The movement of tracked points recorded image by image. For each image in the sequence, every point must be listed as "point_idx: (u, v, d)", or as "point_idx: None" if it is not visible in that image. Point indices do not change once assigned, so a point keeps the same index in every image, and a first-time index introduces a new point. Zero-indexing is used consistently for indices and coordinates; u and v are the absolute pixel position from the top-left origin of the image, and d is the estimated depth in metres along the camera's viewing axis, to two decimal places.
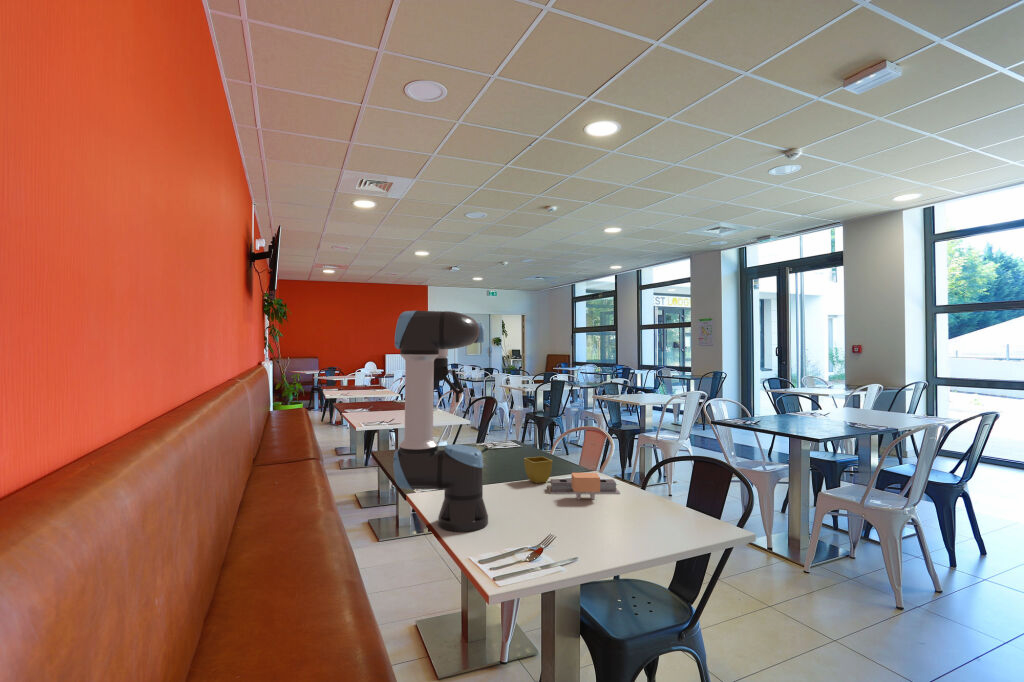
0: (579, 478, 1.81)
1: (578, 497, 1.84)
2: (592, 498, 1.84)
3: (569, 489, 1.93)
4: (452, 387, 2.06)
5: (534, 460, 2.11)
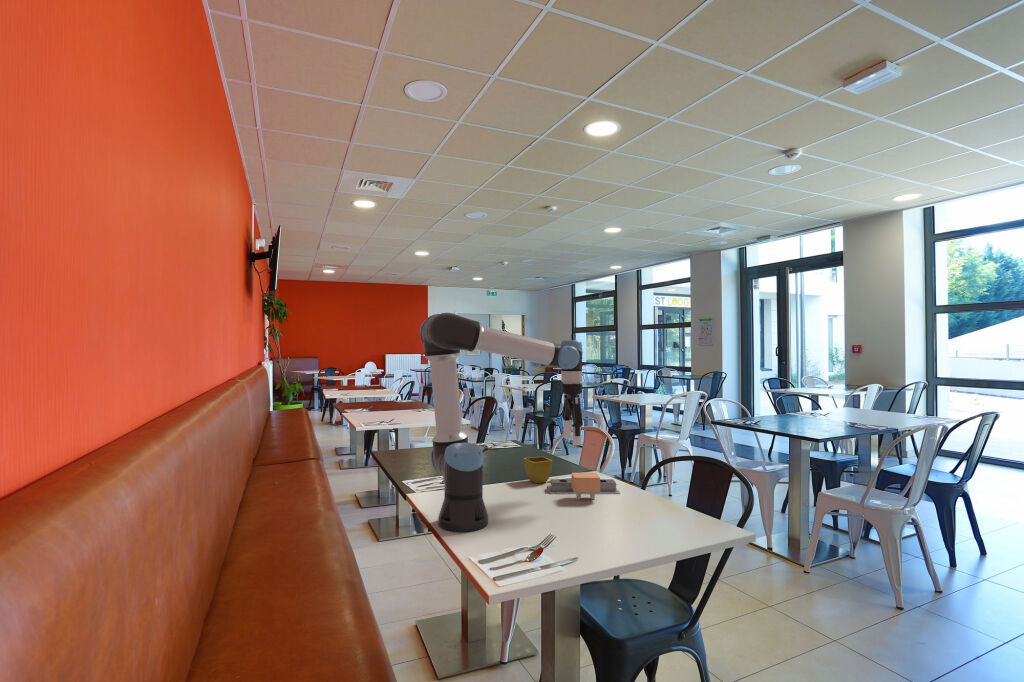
0: (579, 478, 1.81)
1: (578, 497, 1.84)
2: (592, 498, 1.84)
3: (569, 489, 1.93)
4: (572, 418, 1.81)
5: (534, 460, 2.11)
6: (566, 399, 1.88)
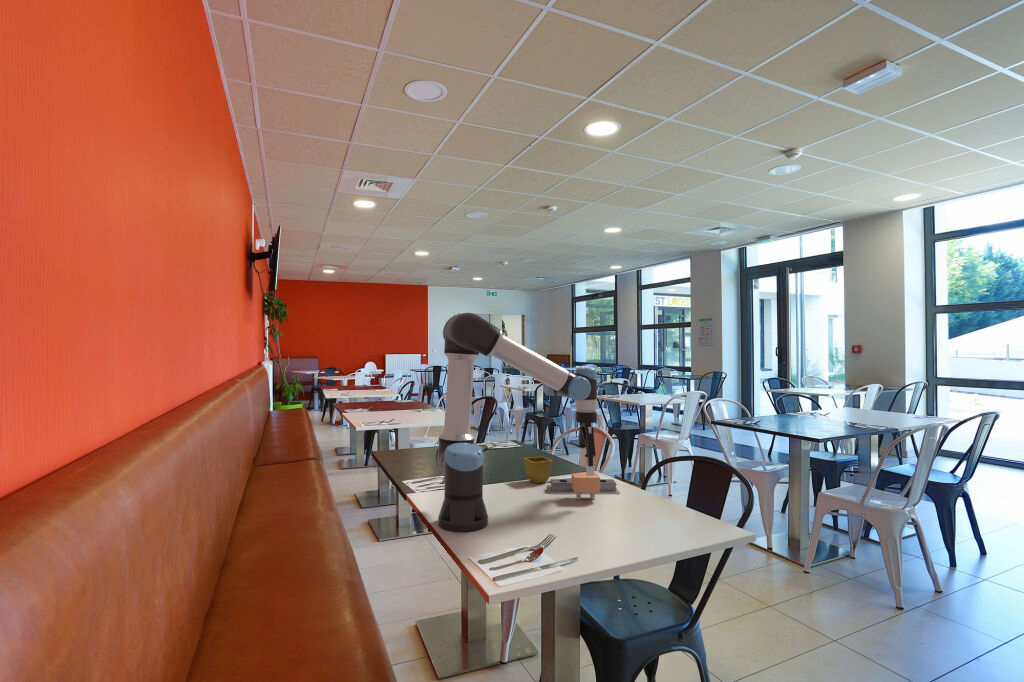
0: (579, 478, 1.81)
1: (578, 497, 1.84)
2: (592, 498, 1.84)
3: (569, 489, 1.93)
4: (586, 447, 1.79)
5: (534, 460, 2.11)
6: (581, 427, 1.86)
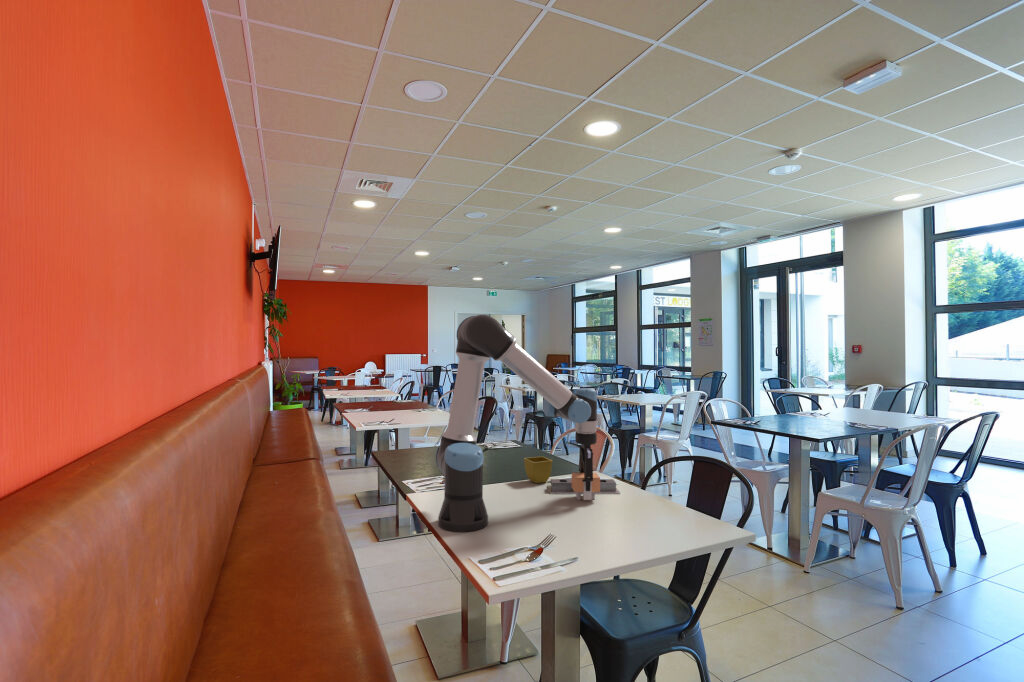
0: (579, 478, 1.81)
1: (578, 497, 1.84)
2: (592, 498, 1.84)
3: (569, 489, 1.93)
4: (584, 471, 1.81)
5: (534, 460, 2.11)
6: (580, 448, 1.86)
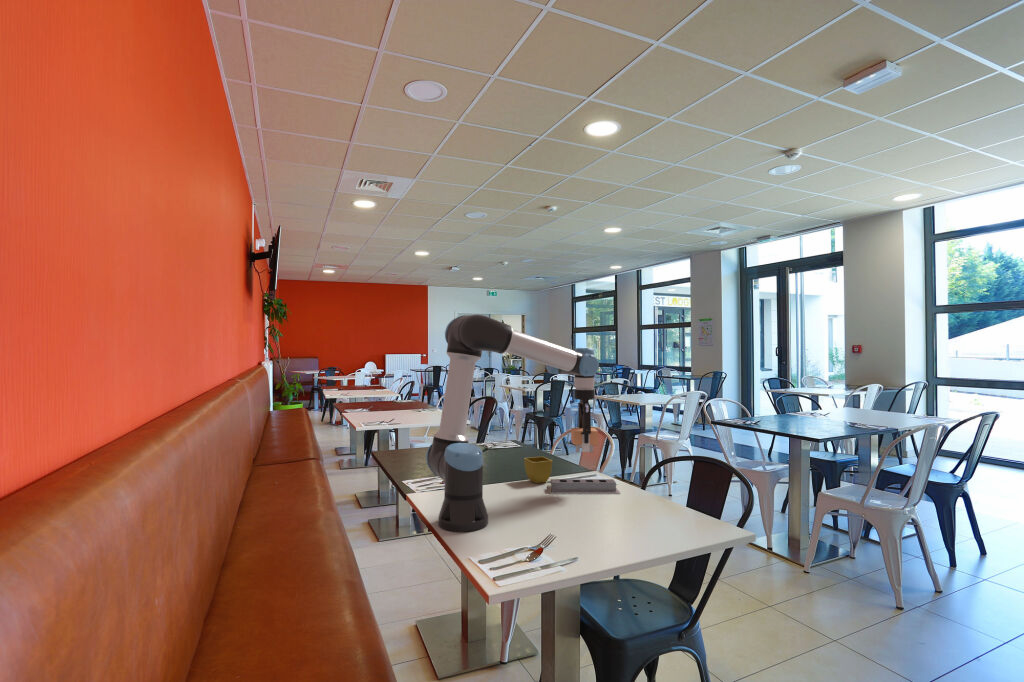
0: (578, 431, 1.92)
1: (577, 450, 1.94)
2: (590, 451, 1.94)
3: (569, 489, 1.93)
4: (582, 425, 1.92)
5: (534, 460, 2.11)
6: (579, 404, 1.96)
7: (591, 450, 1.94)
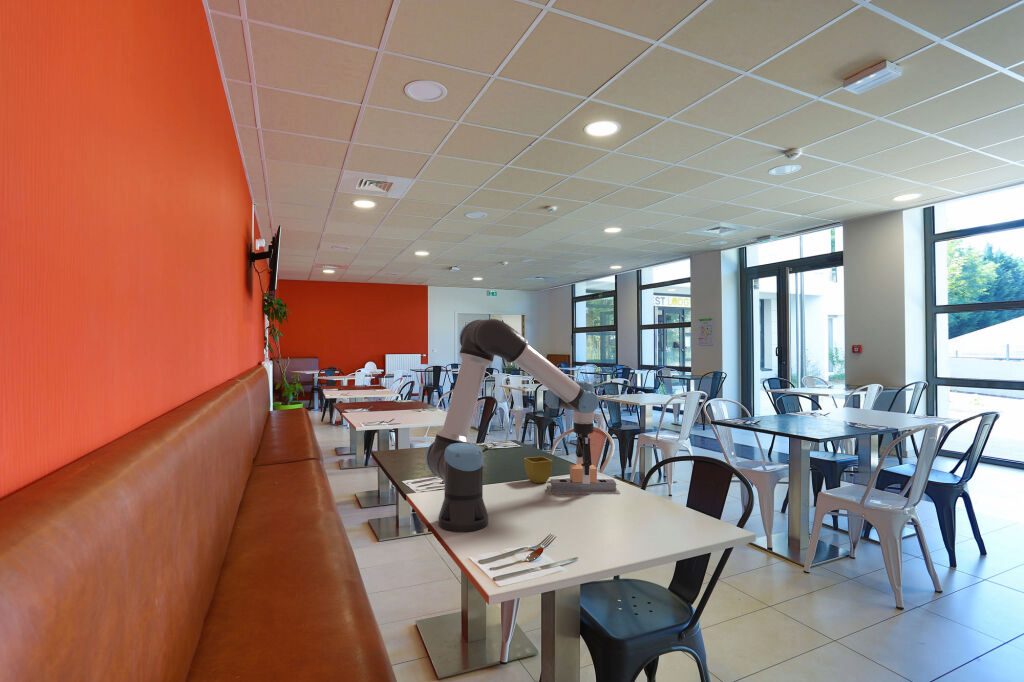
0: (577, 469, 1.92)
1: None
2: None
3: (569, 489, 1.93)
4: (582, 457, 1.90)
5: (534, 460, 2.11)
6: (578, 438, 1.97)
7: None
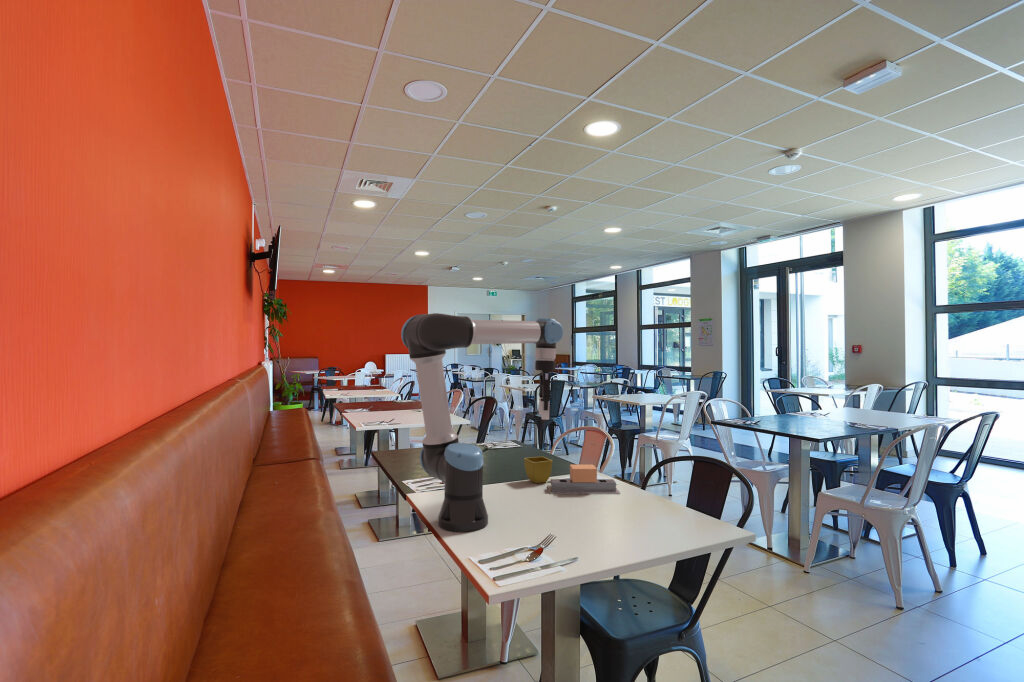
0: (577, 469, 1.92)
1: None
2: None
3: (569, 489, 1.93)
4: (542, 393, 1.87)
5: (534, 460, 2.11)
6: (540, 376, 1.94)
7: None
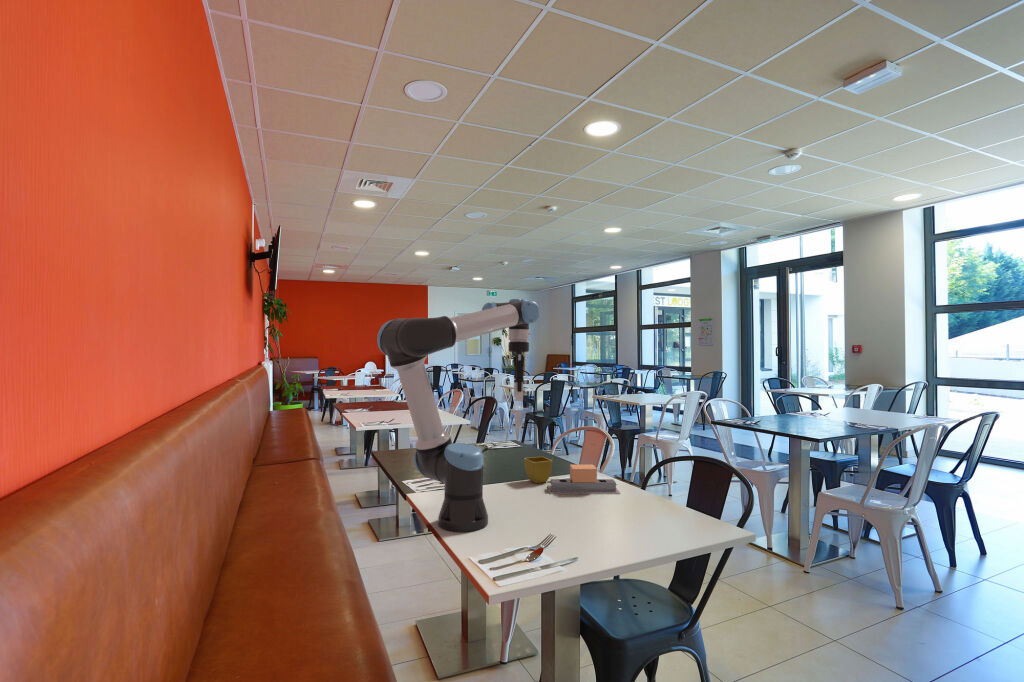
0: (577, 469, 1.92)
1: None
2: None
3: (569, 489, 1.93)
4: None
5: (534, 460, 2.11)
6: None
7: None
